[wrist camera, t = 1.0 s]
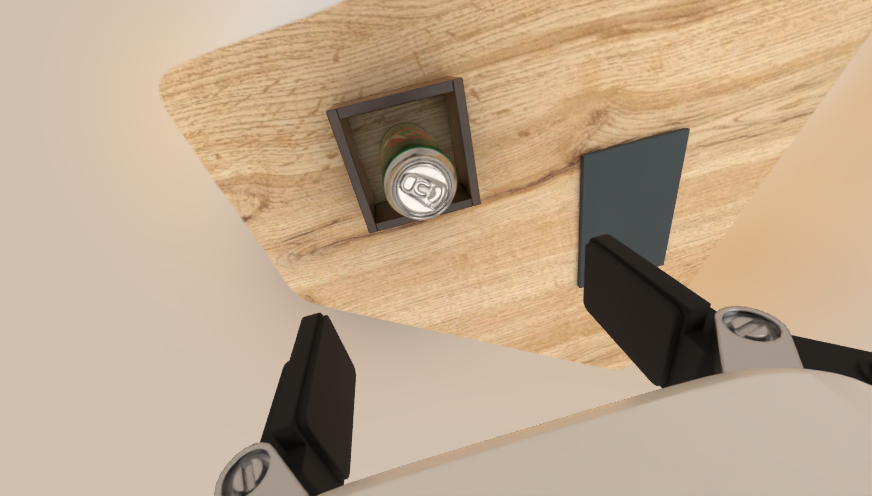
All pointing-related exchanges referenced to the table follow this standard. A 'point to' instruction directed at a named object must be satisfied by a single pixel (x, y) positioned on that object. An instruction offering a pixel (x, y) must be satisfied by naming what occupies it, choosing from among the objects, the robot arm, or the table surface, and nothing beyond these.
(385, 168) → the soda can
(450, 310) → the table surface
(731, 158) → the table surface
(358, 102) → the frame
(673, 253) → the table surface
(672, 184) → the mat
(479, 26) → the table surface
